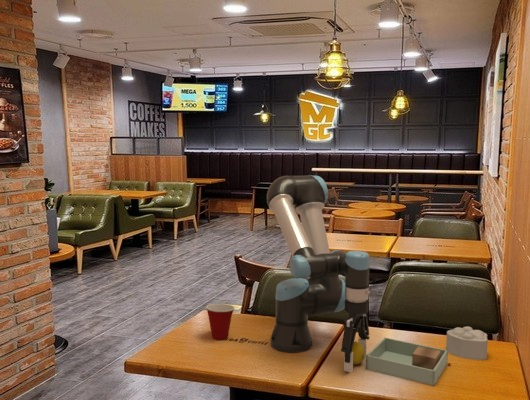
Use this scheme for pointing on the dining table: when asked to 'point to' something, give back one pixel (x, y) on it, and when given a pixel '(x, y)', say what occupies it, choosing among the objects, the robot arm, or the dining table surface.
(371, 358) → the box
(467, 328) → the lumpy-topped squat cylinder
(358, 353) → the lemon
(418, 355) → the walnut block
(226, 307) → the plastic cup
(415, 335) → the dining table surface
